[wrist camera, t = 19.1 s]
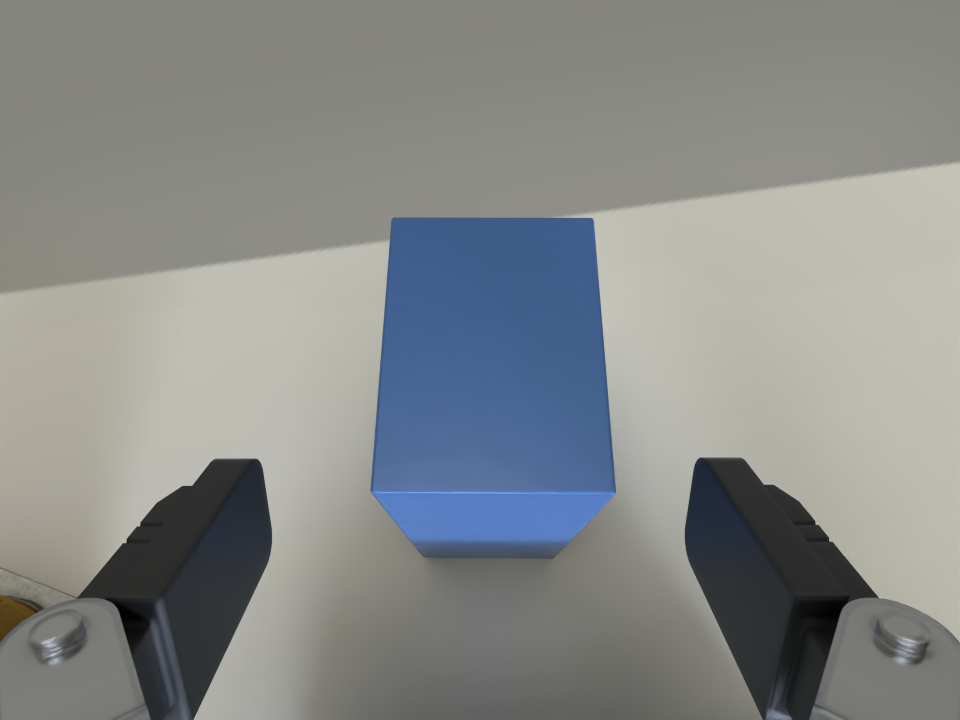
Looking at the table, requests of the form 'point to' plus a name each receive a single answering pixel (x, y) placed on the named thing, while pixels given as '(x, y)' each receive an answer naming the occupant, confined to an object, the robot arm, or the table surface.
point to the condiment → (23, 600)
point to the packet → (492, 386)
